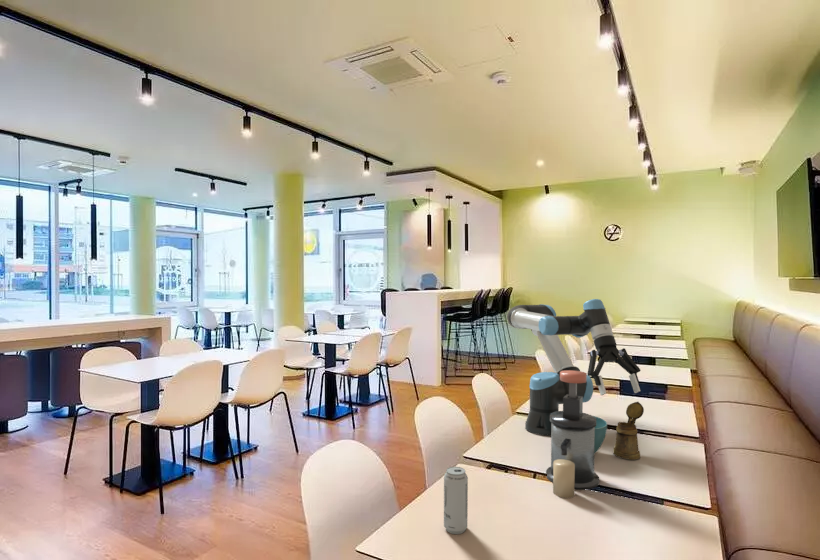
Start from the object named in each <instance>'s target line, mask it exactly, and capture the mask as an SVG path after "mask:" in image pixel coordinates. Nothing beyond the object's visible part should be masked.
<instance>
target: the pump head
mask: <svg viewBox="0 0 820 560" xmlns="http://www.w3.org/2000/svg"><path fill="white" fill-rule="evenodd" d="M587 374H588V373H586V372H584V371H582V370H580V371H573V370H565V371H560V380H561V381H563V382H567V383H569V398H575V399H577V383H585V382H587Z"/></svg>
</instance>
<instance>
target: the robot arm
mask: <svg viewBox="0 0 820 560" xmlns="http://www.w3.org/2000/svg"><path fill="white" fill-rule="evenodd" d="M582 306H583V308H582V309H583V312H582V313H581V314H579V315H562V316H561V315H560V316H559V315H557V313H556V310H555V308H553V307H552V306H551V305H549V304H543V303H541V304H517V305H515V306H513V307H511V308H510V309H509V310H508V312H507V315H506V316H507V317H506V319H507V322H508V324H509V325H510V327H513V328H515V329H518V330H519V329H521V330H531V333H532V334H533V335H534V337H535V336H536V337H538V340H539V342H540V344H541V346H542V348H543V350H544V353H545V356H546V357H547V359H548V361H549V363H550V366H551V368H552V369H553V371H541V372H537V373H535V374H532V375H531V377H530V380H529V386H528V387H529V411H528V415H527V418H526V421H525V427H524V428H525V430H526V431H527V432H529V433H532V434H534V435H539V436H551V422H550V414H551V413H553V412H556V411H560V410H559V407H560V405H563V397H564V396H565V395H566V394H568V395H569V383H567V382H563V381H561V380H560V371H565V370H573V371H581V369H580V368H579V366H578V367H577V366H576V365H574V364H573V361H572V359H571V358H570V356H569V354H568V353H567V350H566V348H565V346H564V344H563V343H562V341H561V338H560V335H561V336H562V335H566V336H569V335H572V337H575V338H578V339H580V338H583V337H586V336H587V335H589V334H591V337H592V340H593V344H594V347H595V349H592V350H591V351H590V352H589V357H590V359H589V363H588V368H587V373H586V374H587V382H585V383H577V396H583V403H587V402H589V401H590V400H591V398H592V397H593V394H594V384H595V386H597V387H598V391H599V394H600V396H605V395H606V394H607V390H606V386H605V384H604V380H603V378H602V377H603V376H602V375H600V373H601V371H602V370H603V366H604V364H605V363H616V364H617V365H619V366H620V367H621V368H622V369H623V370H624V371H625V372H627V373H628V374H629V375H628V377H629V380H630V381H629V382H630V383H631V388H632V390H633V392H634V394H637V393H639V392H641V388H640V386H639V383H640V379H639V377H638V373H639V372H641V368H640V367H639V366H638V365H637V363H635V361H634V360H633V359H632V358H631V356H630V355H629V354H628V352H627V349H626V348H624V347H623V348H622V349H621V348H620V349H618V348H617V342H616V339H615V336H614V332H613V330H612V326H611V324H610V321H609V316H608V313H607V310H606V307H605V305H604V303H603V301H602V299H599V298H593V299H589V300H587V301H585V302H584V303H583V304H582ZM597 356H598V357H599V359H598V363H597V358H598V357H597ZM596 363H597V364H596ZM592 379H593V380H594V383H593V380H592Z"/></svg>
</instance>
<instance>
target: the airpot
mask: <svg viewBox="0 0 820 560" xmlns="http://www.w3.org/2000/svg"><path fill="white" fill-rule="evenodd" d="M594 416H595V415H592V414H590V413H585V412H583V396H577V399H575V398H569V395H568V394H566V395H565V396H564V397H563V404H562V410H559V411H556V412H553V413H551V414H550V422H551V435H550V437H551V439H550V440H551V441H550V442H551V443H550V445H551V446H550V447H551V448H550V466H548V468H546V471H545V477H546V479H547V480H548V481H549V482H551V483H552V484H553V462H554V461H555V460H558V459H564V460H569V461H571V462H573V463H574V464H575V484H574V490H579V491H580V490H581V491H582V490H584V491H585V490H591V489H592V490H593V489H595V488H597V487H598V486H599V485H598V484H600V476H599V474H597V473H596V472H595V454H594V437H595V426H596V418H595V417H596V416H595V417H594ZM546 474H547V476H546Z"/></svg>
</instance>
